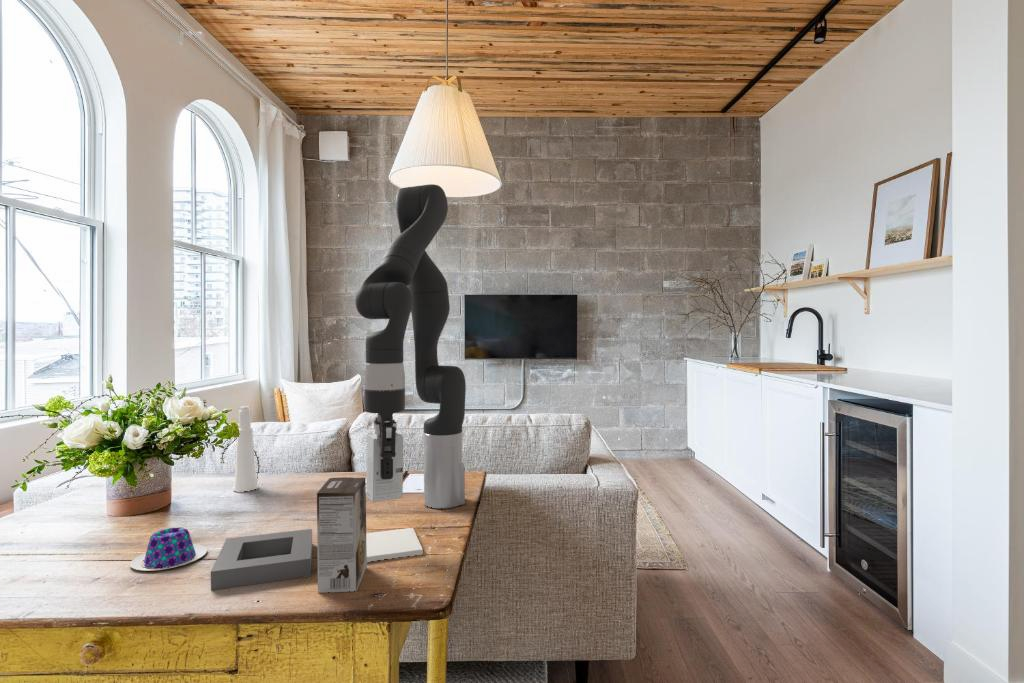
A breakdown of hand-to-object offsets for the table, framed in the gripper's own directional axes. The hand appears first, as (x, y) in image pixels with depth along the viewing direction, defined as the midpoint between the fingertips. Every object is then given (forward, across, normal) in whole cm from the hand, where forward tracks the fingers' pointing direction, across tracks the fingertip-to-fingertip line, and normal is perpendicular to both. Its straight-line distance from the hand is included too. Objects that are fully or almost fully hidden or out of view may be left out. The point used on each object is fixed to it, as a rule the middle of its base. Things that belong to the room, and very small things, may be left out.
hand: (385, 474), depth 105 cm
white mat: (+14, 0, 0) cm, 14 cm away
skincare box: (+5, 0, 0) cm, 5 cm away
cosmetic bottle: (+14, +53, +31) cm, 63 cm away
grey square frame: (+14, -1, +21) cm, 25 cm away
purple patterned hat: (+15, +8, +38) cm, 41 cm away
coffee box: (+14, -12, +8) cm, 20 cm away
